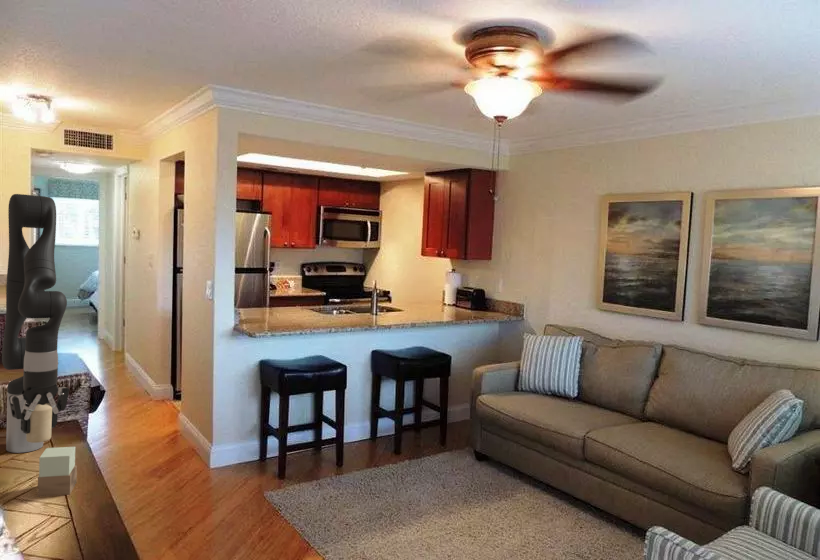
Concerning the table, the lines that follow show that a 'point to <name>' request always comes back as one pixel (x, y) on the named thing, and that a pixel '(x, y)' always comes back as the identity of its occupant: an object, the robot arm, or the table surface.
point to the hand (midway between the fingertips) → (39, 429)
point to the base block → (57, 484)
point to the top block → (57, 461)
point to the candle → (40, 424)
